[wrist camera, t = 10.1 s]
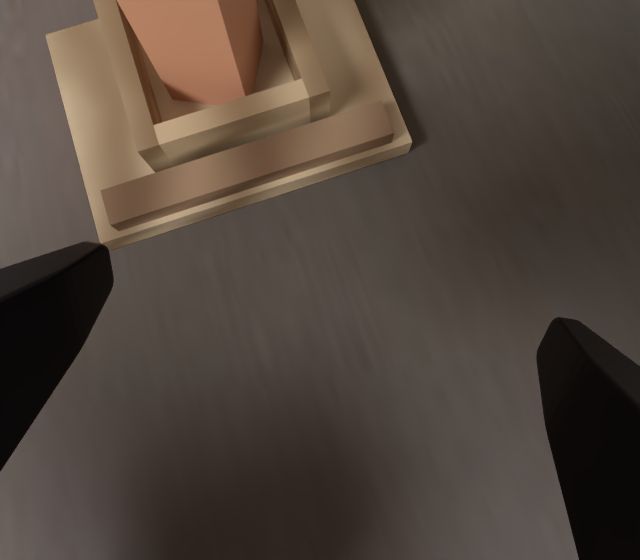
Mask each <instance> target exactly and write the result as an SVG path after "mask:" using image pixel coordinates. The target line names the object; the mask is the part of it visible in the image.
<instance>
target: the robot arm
mask: <svg viewBox="0 0 640 560" xmlns="http://www.w3.org/2000/svg"><path fill="white" fill-rule="evenodd" d="M113 281H114V278H113V271H112V266H111V260H110V254H109V250H108V248H107V246H106V245H104V244H100V243H94V242H88V241H85V242H81V243H78V244H75V245H72V246H69V247H66V248H63V249H60V250H57V251H54V252H50V253H47V254H44V255H41V256H38V257H35V258H32V259H29V260H26V261H23V262H20V263H17V264H14V265H11V266H8V267H5V268H2V269H0V471H1V470H2V468H3V467H4V465H5V464H6V462H7V461H8V459H9V458H10V456H11V455H12V453H13V452H14V450H15V449H16V447H17V446H18V444H19V442H20V441H21V439H22V438H23V436H24V435H25V433H26V432H27V430H28V429H29V427H30V426H31V424H32V423H33V421H34V420H35V418H36V417H37V415H38V414H39V412H40V411H41V409H42V408H43V406H44V405H45V403H46V402H47V400H48V399H49V397H50V396H51V394H52V393H53V391H54V390H55V388H56V387H57V385H58V384H59V382H60V381H61V379H62V378H63V376H64V375H65V373H66V371H67V370H68V368H69V367H70V365H71V364H72V362H73V361H74V359H75V358H76V356H77V355H78V353H79V351H80V350H81V348H82V347H83V345H84V343H85V341H86V339H87V337H88V335H89V333H90V331H91V329H92V327H93V325H94V324H95V322H96V320H97V318H98V316H99V314H100V312H101V310H102V308H103V306H104V304H105V302H106V300H107V298H108V296H109V294H110V292H111V290H112V287H113ZM537 367H538V375H539V383H540V390H541V398H542V406H543V414H544V420H545V426H546V431H547V435H548V440H549V443H550V447H551V451H552V455H553V459H554V463H555V467H556V471H557V475H558V479H559V483H560V487H561V490H562V494H563V498H564V502H565V506H566V510H567V514H568V518H569V522H570V526H571V530H572V534H573V537H574V541H575V545H576V549H577V553H578V557H579V560H640V366H638V365H637V364H636V363H634V362H633V361H632V360H630V359H629V358H628V357H626V356H625V355H624V354H622V353H621V352H620V351H618V350H617V349H616V348H614V347H613V346H612V345H610V344H609V343H608V342H606V341H605V340H604V339H602V338H601V337H600V336H598V335H597V334H596V333H594V332H593V331H592V330H590V329H589V328H588V327H586V326H585V325H584V324H582V323H581V322H580V321H578V320H574V319H568V318H561V317H557V318H555V319H553V320H552V322H551V323H550V325H549V327H548V329H547V331H546V333H545V335H544V337H543V339H542V341H541V343H540V345H539V347H538V350H537Z"/></svg>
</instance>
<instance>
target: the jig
mask: <svg viewBox="0 0 640 560" xmlns="http://www.w3.org/2000/svg"><path fill="white" fill-rule="evenodd" d="M93 1H94V4H95V8H96V11H97V14H98V18H99V19H97V20H93V21H90V22H87V23H83V24H80V25H77V26H73V27H70V28H67V29H63V30H60V31H57V32H53V33H50V34H47V35H46V39H47V43H48V46H49V50H50V54H51V58H52V62H53V65H54V69H55V73H56V77H57V81H58V85H59V88H60V92H61V96H62V100H63V104H64V107H65V111H66V115H67V119H68V123H69V126H70V130H71V134H72V138H73V142H74V145H75V149H76V153H77V157H78V161H79V164H80V168H81V172H82V176H83V180H84V183H85V187H86V191H87V195H88V199H89V202H90V206H91V210H92V214H93V218H94V221H95V225H96V229H97V233H98V237H99V241H100V244H104V245H106V246H107V248H109V249H111V250H113V249H116V248H119V247H122V246H125V245H128V244H131V243H134V242H137V241H140V240H143V239H147V238H150V237H153V236H156V235H159V234H162V233H165V232H168V231H171V230H174V229H177V228H180V227H183V226H186V225H189V224H192V223H195V222H199V221H202V220H205V219H208V218H211V217H214V216H217V215H220V214H223V213H226V212H229V211H232V210H235V209H238V208H241V207H244V206H247V205H250V204H254V203H257V202H260V201H263V200H266V199H269V198H272V197H275V196H278V195H281V194H284V193H287V192H290V191H293V190H296V189H299V188H302V187H306V186H309V185H312V184H315V183H318V182H321V181H324V180H327V179H330V178H333V177H336V176H339V175H342V174H345V173H348V172H351V171H354V170H357V169H361V168H364V167H367V166H370V165H373V164H376V163H379V162H382V161H385V160H388V159H391V158H394V157H397V156H400V155H403V154H406V153H408V152H409V150H410V147H411V145H412V140H411V137H410V135H409V132H408V130H407V127H406V125H405V123H404V120H403V118H402V115H401V113H400V110H399V108H398V106H397V103H396V101H395V98H394V96H393V93H392V91H391V88H390V86H389V84H388V81H387V79H386V76H385V74H384V71H383V69H382V67H381V64H380V62H379V59H378V57H377V54H376V52H375V50H374V47H373V45H372V42H371V40H370V37H369V35H368V33H367V30H366V28H365V25H364V23H363V20H362V18H361V15H360V13H359V11H358V8H357V6H356V3H355V1H354V0H256V2H257V8H258V13H259V19H260V24H261V29H262V35H263V40H264V42H263V47H262V51H261V56H260V61H259V66H258V71H257V76H256V81H255V85H254V90H253V94H251V95H248V96H245V97H241V98H238V99H235V100H232V101H229V102H226V103H222V104H219V105H216V106H215V105H208V104H201V103H194V102H187V101H180V100H173V99H172V98H171V96H170V94H169V93H168V91H167V89H166V87H165V86H164V84H163V82H162V80H161V78H160V77H159V75H158V73H157V71H156V69H155V68H154V66H153V64H152V62H151V61H150V59H149V57H148V55H147V53H146V52H145V50H144V48H143V46H142V45H141V43H140V41H139V39H138V37H137V36H136V34H135V32H134V30H133V29H132V27H131V25H130V23H129V21H128V20H127V18H126V16H125V14H124V13H123V11H122V9H121V7H120V5H119V4H118V2H117V0H93Z"/></svg>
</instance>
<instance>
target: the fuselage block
mask: <svg viewBox="0 0 640 560" xmlns="http://www.w3.org/2000/svg"><path fill="white" fill-rule="evenodd" d="M117 2H118V4H119V5H120V7H121V9H122V11H123V13H124V14H125V16H126V18H127V20H128V21H129V23H130V25H131V27H132V29H133V30H134V32H135V34H136V36H137V37H138V39H139V41H140V43H141V45H142V46H143V48H144V50H145V52H146V53H147V55H148V57H149V59H150V61H151V62H152V64H153V66H154V68H155V69H156V71H157V73H158V75H159V77H160V78H161V80H162V82H163V84H164V86H165V87H166V89H167V91H168V93H169V94H170V96H171V98H172V99H173V100H180V101H187V102H194V103H201V104H208V105H215V106H216V105H219V104H222V103H226V102H229V101H232V100H235V99H238V98H241V97H245V96H248V95H251V94H253V90H254V85H255V81H256V76H257V71H258V66H259V61H260V56H261V51H262V47H263V42H264V40H263V35H262V29H261V24H260V19H259V13H258V8H257V2H256V0H117Z"/></svg>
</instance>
